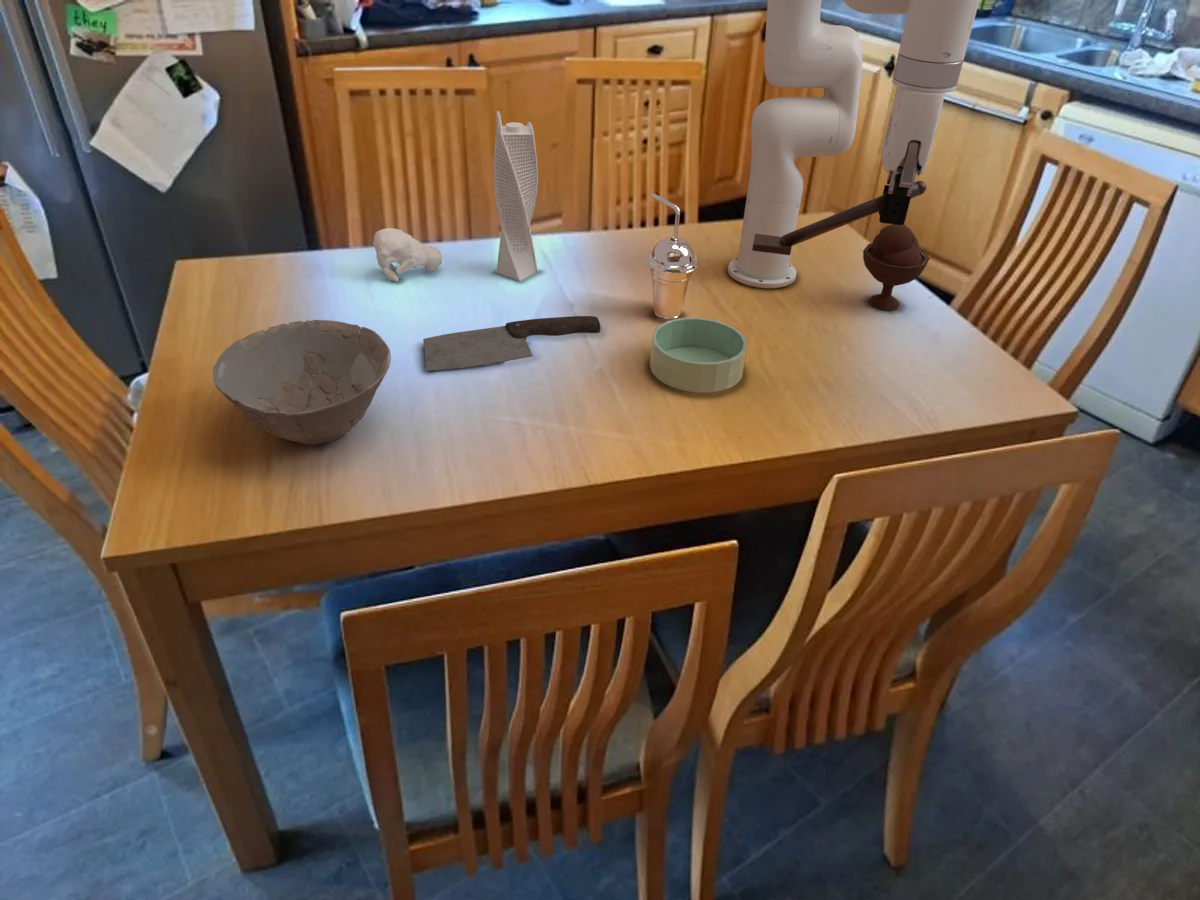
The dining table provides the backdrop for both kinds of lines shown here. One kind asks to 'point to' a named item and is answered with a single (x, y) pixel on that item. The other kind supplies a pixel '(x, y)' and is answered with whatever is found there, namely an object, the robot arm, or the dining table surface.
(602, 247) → the dining table surface
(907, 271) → the ice cream bowl
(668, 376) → the bowl
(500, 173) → the skyscraper
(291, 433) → the ceramic bowl
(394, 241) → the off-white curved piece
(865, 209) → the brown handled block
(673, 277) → the cup with straw
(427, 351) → the cleaver
